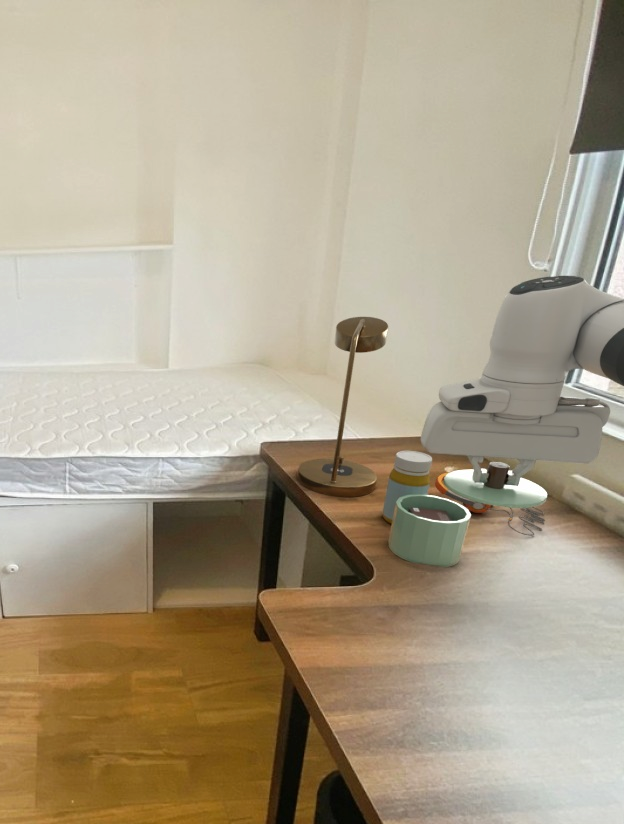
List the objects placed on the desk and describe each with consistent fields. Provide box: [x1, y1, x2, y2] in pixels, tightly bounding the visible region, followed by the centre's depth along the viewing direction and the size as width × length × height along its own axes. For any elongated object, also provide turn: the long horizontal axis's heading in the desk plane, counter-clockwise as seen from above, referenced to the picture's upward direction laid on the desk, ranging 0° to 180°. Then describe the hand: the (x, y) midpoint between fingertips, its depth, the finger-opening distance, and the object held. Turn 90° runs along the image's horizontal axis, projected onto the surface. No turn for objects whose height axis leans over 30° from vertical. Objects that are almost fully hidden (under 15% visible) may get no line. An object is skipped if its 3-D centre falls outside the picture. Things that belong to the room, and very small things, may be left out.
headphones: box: [434, 472, 546, 537], centre depth 119 cm, size 17×5×20 cm
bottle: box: [381, 450, 433, 525], centre depth 116 cm, size 7×7×15 cm
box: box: [409, 508, 451, 521], centre depth 106 cm, size 6×6×7 cm
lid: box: [443, 461, 548, 509], centre depth 84 cm, size 12×12×5 cm
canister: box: [387, 494, 472, 568], centre depth 106 cm, size 11×11×10 cm
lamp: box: [296, 316, 389, 498], centre depth 134 cm, size 17×27×38 cm, turn 146°
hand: (494, 482), depth 84 cm, fingers closed on lid, 2 cm apart
